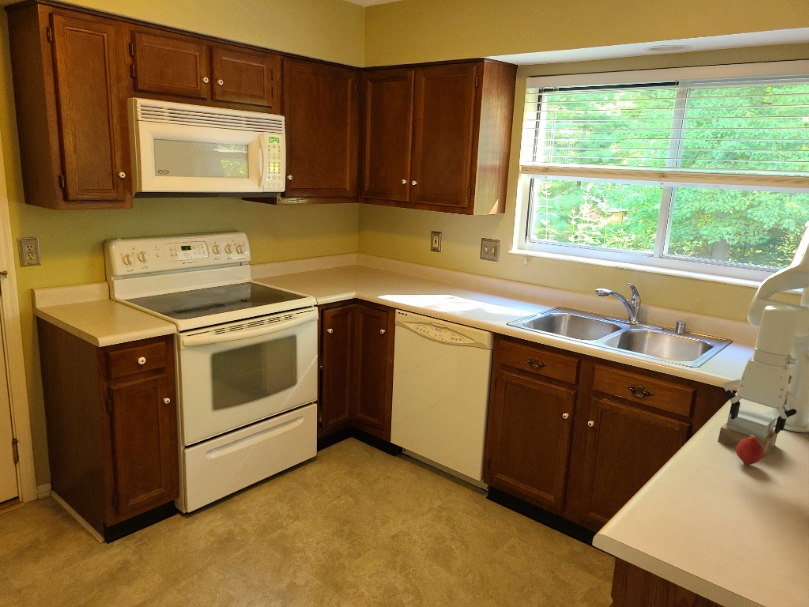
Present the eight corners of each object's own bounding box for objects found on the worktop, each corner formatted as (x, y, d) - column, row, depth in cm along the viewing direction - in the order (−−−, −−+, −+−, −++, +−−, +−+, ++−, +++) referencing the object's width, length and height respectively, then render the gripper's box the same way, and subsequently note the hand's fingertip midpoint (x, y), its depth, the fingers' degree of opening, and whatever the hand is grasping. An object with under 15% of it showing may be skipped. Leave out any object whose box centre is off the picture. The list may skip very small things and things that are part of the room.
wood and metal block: (731, 430, 170) (736, 403, 169) (774, 445, 163) (781, 417, 161) (717, 441, 163) (723, 413, 161) (763, 456, 155) (769, 428, 153)
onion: (751, 459, 153) (757, 430, 151) (765, 471, 148) (772, 441, 146) (728, 458, 153) (735, 429, 151) (741, 469, 147) (748, 439, 145)
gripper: (816, 365, 140) (799, 434, 144) (736, 346, 152) (722, 409, 156) (809, 371, 135) (791, 442, 139) (726, 350, 147) (712, 416, 150)
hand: (755, 424), depth 147 cm, fingers open, 9 cm apart
